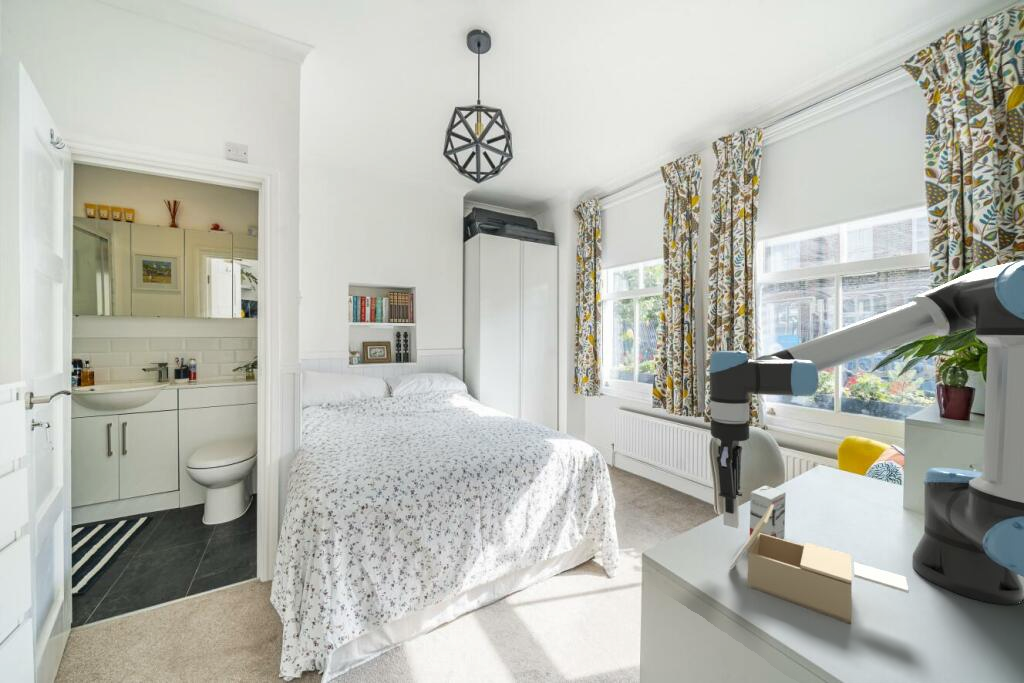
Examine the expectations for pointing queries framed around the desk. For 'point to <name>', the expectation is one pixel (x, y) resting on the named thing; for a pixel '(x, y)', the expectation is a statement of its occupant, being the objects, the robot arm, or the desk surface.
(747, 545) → the far flap
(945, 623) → the desk surface
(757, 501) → the ink box
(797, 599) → the carton
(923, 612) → the desk surface
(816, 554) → the near flap
